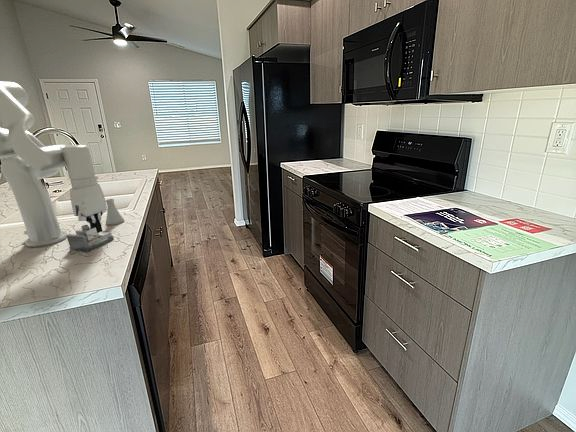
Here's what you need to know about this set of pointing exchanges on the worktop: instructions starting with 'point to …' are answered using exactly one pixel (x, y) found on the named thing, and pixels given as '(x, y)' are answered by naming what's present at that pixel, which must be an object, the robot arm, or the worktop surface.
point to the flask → (113, 213)
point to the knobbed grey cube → (87, 232)
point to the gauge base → (83, 245)
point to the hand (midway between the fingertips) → (97, 231)
